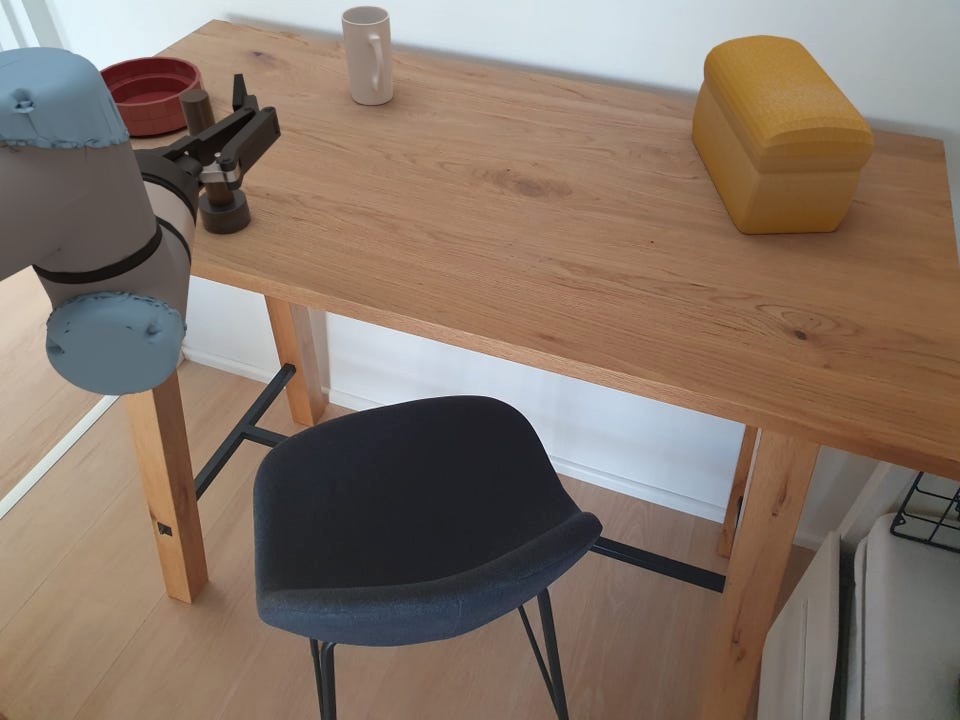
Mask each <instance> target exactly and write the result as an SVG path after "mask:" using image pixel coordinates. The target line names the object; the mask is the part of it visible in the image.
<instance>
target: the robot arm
mask: <svg viewBox="0 0 960 720" xmlns="http://www.w3.org/2000/svg"><path fill="white" fill-rule="evenodd" d="M99 71H100V70H99V69H98V68H97V66H96V65H95V64H94V63H92V62H91V61H90V60H89V59H87V58H86V57H84V56H82V55H81V54H77V53H73V52H71V50H68V49H64V48H59V47H51V46H32V47H31V46H30V47H19V48H13V49H8V50H3V51H0V283H1V282H3V281H5V280H6V279H8V278H10V277H12V276H14V275H16V274H18V273H20V272H22V271H23V270H25V269H27V268H29V267H32V269H33V271H34V272H35V274H36V276H37V279H38V280H39V282H40V284H41V286H42V287H43V289H44V291H45V293H46V295H47V297H48V299H49V301H50V303H51V304H50V305H51V307H52V308H51V309H52V311H51V312H50V313H49V316H48V318H47V320H46V322H45V325H46V338H45V339H46V340H45V352H46V356H47V359H48V362H49V364H50V365H51V366H52V368H53V369H54V370H55V372H57V374H58V375H59V376H60V377H62V378H63V380H66V381H67V382H68V383H70V384H72V385H73V386H75V387H77V388H79V389H81V390H83V391H87V392H90V393H94V394H97V395H102V396H111V397H122V396H126V395H134V394H141V393H144V392H148V391H149V390H153V389H155V388H156V387H158V386H161V384H163V383H164V382H165V381H166V380H168V378H169V377H170V376H171V375H172V374H173V372H174V371H175V369H176V368H177V365H178V363H179V359H180V354H181V350H182V345H183V341H184V340H185V337H186V335H187V331H188V323H187V322H186V319H187V311H188V309H187V308H188V301H189V300H188V299H189V290H190V280H191V272H192V271H191V269H192V263H193V262H192V261H193V253H194V244H195V236H196V235H195V234H196V229H197V222H198V211H199V208H198V204H199V197H200V192H201V191H202V190H204V189H205V188H204V187H205V186H206V183H212V182H225V186H226V189H227V190H232V191H233V190H237V189H240V188H241V187H242V186H243V185H242V184H243V181H244V176H245V175H246V174H248V172H249V171H250V169H252V168H253V166H254V165H256V163H257V162H258V161H259V160H260V159H261V158H262V157H263V156H264V155H265V153H266V152H267V151H268V150H269V149H270V148H271V147H272V146H273V145H274V143H276V142H277V140H279V138H280V137H281V136H282V132H281V127H280V123H279V117H278V114H277V109H276V107H275V106H272V105H271V106H264V107H263V108H261V109H260V107H259V103H258V99H257V96H256V95H255V94H248V90H247V87H246V82H245V78H244V75H243V73H234V74H233V85H232V86H233V87H232V98H231V99H232V100H231V107H232V111H233V112H232V113H230V114H228V115H227V116H225V117H224V118H222V119H221V120H219V121H217V122H215V123H216V124H214V125H213V126H211V127H209V128H208V129H206V130H204V131H203V132H201V133H199V134H198V135H196V136H195V137H192V136H190V135H189V134H186V135H184V136H182V137H180V138H179V139H177V140H175V141H174V142H172V143H170V144H169V145H162V146H157V147H154V148H139V149H138V148H137V149H133V145H132V142H131V140H130V136H131V135H129V133H128V131H127V128H126V126H125V125H124V122H123V120H122V118H121V116H120V113H119V111H118V109H117V106H116V104H115V102H114V100H113V97H112V95H111V93H110V91H109V89H108V88H107V86H106V84H105V82H104V80H103V78H102V76H101V74H100V72H99Z"/></svg>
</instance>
